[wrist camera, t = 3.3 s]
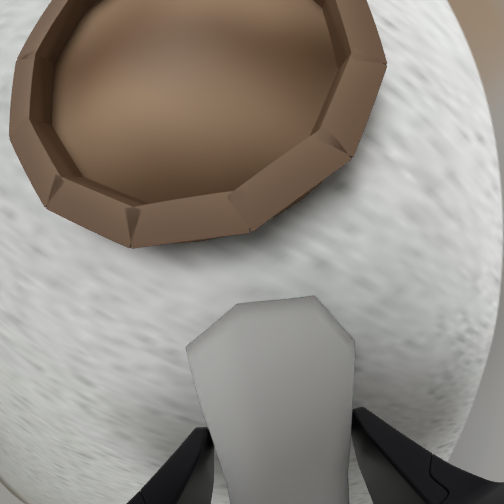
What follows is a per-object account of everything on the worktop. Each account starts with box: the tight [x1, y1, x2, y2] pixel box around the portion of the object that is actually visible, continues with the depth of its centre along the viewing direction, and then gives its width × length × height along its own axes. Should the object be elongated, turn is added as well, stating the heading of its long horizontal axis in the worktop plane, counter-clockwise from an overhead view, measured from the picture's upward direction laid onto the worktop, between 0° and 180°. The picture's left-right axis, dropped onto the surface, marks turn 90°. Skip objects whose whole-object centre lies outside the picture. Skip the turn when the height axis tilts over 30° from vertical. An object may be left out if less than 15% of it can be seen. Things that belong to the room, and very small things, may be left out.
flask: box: [186, 296, 355, 504], centre depth 7 cm, size 7×7×10 cm
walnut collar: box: [9, 0, 387, 249], centre depth 8 cm, size 14×14×2 cm
